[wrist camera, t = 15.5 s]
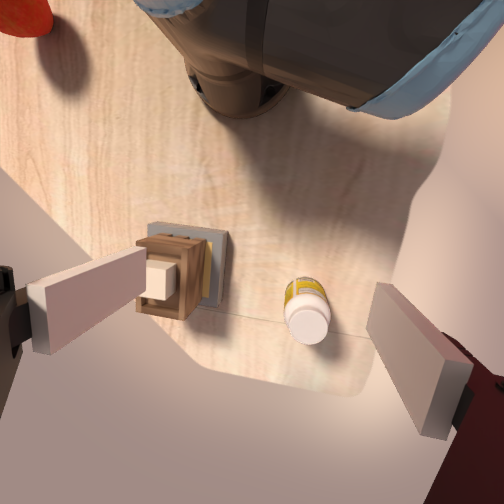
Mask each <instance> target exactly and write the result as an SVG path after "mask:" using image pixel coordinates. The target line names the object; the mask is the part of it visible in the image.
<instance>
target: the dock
mask: <svg viewBox="0 0 504 504" xmlns="http://www.w3.org/2000/svg"><path fill="white" fill-rule="evenodd" d="M159 233H169V234H172V237H175V236H178V235H183V236H189V240H192V239H194V238H196V237H197V238H203V239H206V247H205V261H204V276H203V290H202V300H201V302H200V303H199V304H198V305H204V306H210V307H215V308H217V307H218V306H219V304H220V303H221V301H222V295H223V283H224V272H225V260H226V248H227V237H228V231H224V230H217V229H209V228H202V227H194V226H187V225H180V224H172V223H165V222H153V223H149V224H148V237H150V236H153V235H156V234H159Z"/></svg>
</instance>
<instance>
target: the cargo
mask: <svg viewBox="0 0 504 504" xmlns="http://www.w3.org/2000/svg"><path fill="white" fill-rule="evenodd" d="M175 292H176V263H171V262H164V261H156V260H149V259H148V260H146V291H145V292H143V293H142V294H141V295H139V296H140V297H147V298H153V299H159V300H166V299H168V298H169V297H170V296H171V295H172V294H173V293H175Z"/></svg>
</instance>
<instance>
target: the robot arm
mask: <svg viewBox="0 0 504 504" xmlns="http://www.w3.org/2000/svg"><path fill="white" fill-rule="evenodd" d="M133 1H134V2H135V4H136V5H137V6H139V7H140V9H141V10H143V11H145V13H146V14H147V15H148V16H149V17H150V18H151V19H152V21H153V22H154V23H155V24H156V25H157V26H158V28H159V29H160V30H161V31H162V32H163V33H164V35H165V36H166V37H167V38H168V39H169V40H170V42H171V43H172V44H173V45H174V46H175V47H176V49H177V50H178V51H179V52H180V53H181V54H182V56H183V57H184V62H185V67H186V71H187V74H188V77H189V79H190V82H191V84H192V86H193V87H194V89H195V91H196V92H197V94H198V95H199V96H200V97H201V98H202V100H203V101H204V102H206V103H207V104H208V105H209V106H210V107H211V108H212V109H213V110H215V111H216V112H218V113H220V114H222V115H224V116H227V117H231V118H239V119H243V118H251V117H255V116H258V115H260V114H262V113H264V112H266V111H268V110H269V109H271V108H272V107H273V106H275V105H276V104H277V103H278V102H279V101H280V100H281V99H282V97H283V96H284V95H285V93H286V92H287V90H288V89H289V87H290V86H292V87H294V88H297V89H300V90H302V91H305V92H308V93H311V94H313V95H316V96H319V97H321V98H324V99H327V100H329V101H332V102H335V103H338V104H340V105H343V106H346V109H347V110H349V111H351V112H360V111H361V112H364V113H367V114H370V115H373V116H377V117H380V118H383V119H389V120H395V119H399V118H402V117H405V116H409V115H411V114H413V113H415V112H417V111H419V110H420V109H422V108H423V107H425V106H426V105H427V104H429V103H430V102H431V101H433V100H434V99H435V98H436V97H437V96H438V95H440V94H441V93H442V92H443V91H444V90H445V89H446V88H447V87H448V86H449V85H451V84H452V83H453V82H454V80H456V78H458V77H459V75H460V74H461V73H462V72H463V71H464V70H465V69H466V68H467V67H468V66H469V65H470V64H471V63H472V62H473V61H474V59H475V58H476V57H477V56H478V55H479V54H480V53H481V51H482V50H483V49H484V48H485V47H486V46H487V44H488V43H489V42H490V41H491V39H492V38H493V37H494V36H495V35H496V33H497V32H498V30H499V29H500V28H501V27H502V26H503V24H504V0H133ZM146 249H147V248H146V247H139V246H133V247H130V248H127V249H124V250H121V251H118V252H116V253H113V254H110V255H107V256H104V257H101V258H98V259H96V260H93V261H90V262H87V263H84V264H81V265H79V266H76V267H73V268H70V269H67V270H65V271H62V272H59V273H56V274H53V275H50V276H47V277H45V278H42V279H39V280H36V281H33V282H30V283H28V284H26V287H24V288H21V289H19V290H16V291H15V285H14V277H13V269H12V268H11V267H9V266H0V418H1V415H2V412H3V409H4V406H5V403H6V401H7V398H8V394H9V392H10V388H11V386H12V383H13V379H14V377H15V374H16V371H17V368H18V365H19V362H20V359H21V356H22V353H23V350H22V342H24V341H26V340H28V339H30V338H32V347H33V352H37V353H42V354H47V355H52V354H54V353H55V352H57V351H58V350H60V349H61V348H63V347H64V346H65V345H67V344H68V343H70V342H71V341H73V340H74V339H76V338H77V337H79V336H80V335H82V334H83V333H85V332H86V331H88V330H89V329H90V328H92V327H93V326H95V325H96V324H98V323H99V322H101V321H102V320H104V319H105V318H107V317H108V316H110V315H111V314H113V313H114V312H115V311H117V310H118V309H120V308H121V307H123V306H124V305H126V304H127V303H129V302H130V301H132V300H133V299H135V298H136V297H138V296H139V295H141V294H142V293H143V292H145V291H146ZM366 330H367V332H368V334H369V336H370V338H371V340H372V341H373V343H374V345H375V347H376V349H377V351H378V353H379V355H380V357H381V359H382V361H383V363H384V365H385V367H386V369H387V371H388V373H389V375H390V377H391V379H392V381H393V383H394V385H395V387H396V389H397V391H398V392H399V394H400V396H401V398H402V400H403V402H404V404H405V406H406V408H407V410H408V412H409V414H410V416H411V418H412V420H413V422H414V424H415V426H416V428H417V430H418V432H419V434H420V435H422V436H427V437H431V438H436V439H441V440H445V441H446V440H447V437H448V434H449V432H450V429H451V426H452V425H453V426H454V427H455V429H456V431H457V434H456V436H455V438H454V440H453V442H452V444H451V446H450V448H449V450H448V453H447V455H446V457H445V459H444V461H443V463H442V465H441V467H440V470H439V472H438V474H437V476H436V478H435V480H434V482H433V484H432V487H431V489H430V491H429V493H428V495H427V497H426V499H425V501H424V503H423V504H504V377H503V376H499V375H494V374H492V373H491V372H490V371H489V370H488V369H487V368H486V367H485V366H484V365H483V364H481V363H480V362H479V361H478V360H477V359H476V358H475V357H473V355H472V354H471V353H470V352H469V351H467V350H466V349H465V348H464V347H463V346H462V345H461V344H460V343H459V342H458V341H457V340H455V339H454V338H452V337H450V336H448V335H447V334H445V333H444V332H440V331H439V330H438V329H437V328H436V327H435V326H434V325H433V324H432V323H431V322H430V321H429V320H428V319H427V318H426V317H425V316H424V315H423V314H422V313H421V312H420V311H419V310H418V309H417V308H416V307H415V306H414V305H413V304H412V303H411V302H410V301H409V300H408V299H406V297H404V295H402V294H401V293H400V292H399V291H398V290H397V289H396V288H395V287H394V286H393V285H392V284H387V283H380V282H377V284H376V288H375V292H374V296H373V300H372V305H371V309H370V313H369V317H368V321H367V326H366Z"/></svg>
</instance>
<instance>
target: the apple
mask: <svg viewBox="0 0 504 504" xmlns="http://www.w3.org/2000/svg"><path fill="white" fill-rule="evenodd" d="M52 27H53V15H52V12H51V8H50V6H49V3H48V1H47V0H0V32H2V33H5V34H8V35H12V36H16V37H20V38H24V37H39V36H43V35H46V34H48V33H50V31H51V30H52Z"/></svg>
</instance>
